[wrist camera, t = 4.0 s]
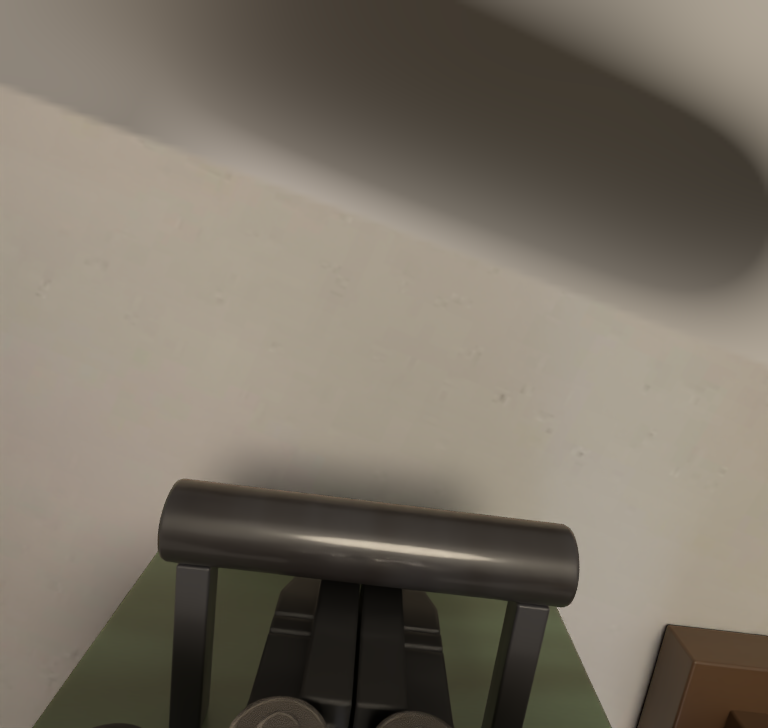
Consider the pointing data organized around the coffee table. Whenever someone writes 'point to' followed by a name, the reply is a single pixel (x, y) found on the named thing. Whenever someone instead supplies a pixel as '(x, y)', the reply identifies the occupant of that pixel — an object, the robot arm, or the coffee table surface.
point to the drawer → (344, 564)
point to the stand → (708, 681)
